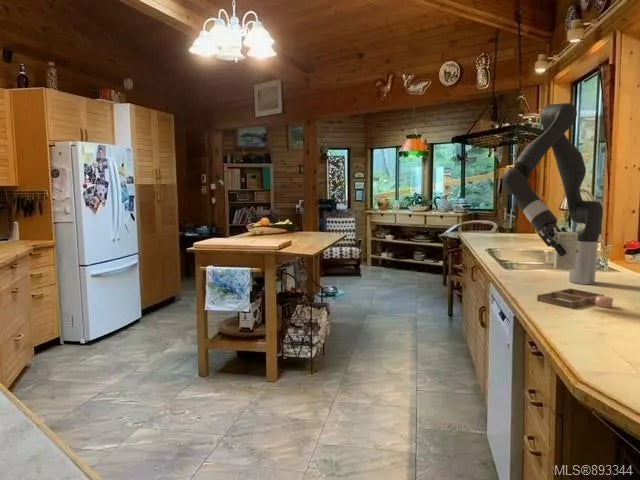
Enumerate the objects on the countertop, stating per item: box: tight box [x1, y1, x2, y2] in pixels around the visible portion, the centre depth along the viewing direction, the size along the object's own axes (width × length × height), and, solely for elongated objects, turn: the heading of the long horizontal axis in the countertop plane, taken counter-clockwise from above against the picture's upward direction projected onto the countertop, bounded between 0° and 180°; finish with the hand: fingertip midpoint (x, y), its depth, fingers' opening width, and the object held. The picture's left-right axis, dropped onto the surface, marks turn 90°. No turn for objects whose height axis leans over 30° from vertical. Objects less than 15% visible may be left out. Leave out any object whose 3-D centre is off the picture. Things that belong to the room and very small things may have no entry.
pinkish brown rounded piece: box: [594, 295, 614, 309], centre depth 164 cm, size 5×5×3 cm
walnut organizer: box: [536, 288, 605, 310], centre depth 171 cm, size 21×12×2 cm, turn 125°
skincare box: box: [553, 231, 578, 270], centre depth 166 cm, size 6×4×12 cm
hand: (570, 253), depth 165 cm, fingers closed on skincare box, 7 cm apart
